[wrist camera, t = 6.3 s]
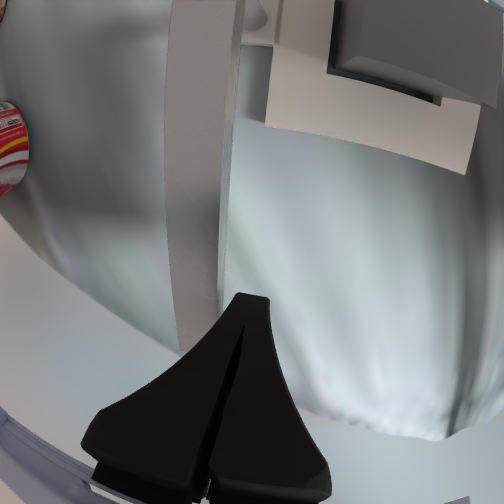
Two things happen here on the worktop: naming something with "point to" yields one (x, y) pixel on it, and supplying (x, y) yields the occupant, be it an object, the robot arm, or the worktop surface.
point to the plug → (425, 46)
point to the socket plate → (349, 91)
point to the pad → (497, 4)
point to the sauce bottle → (2, 8)
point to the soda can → (12, 147)
